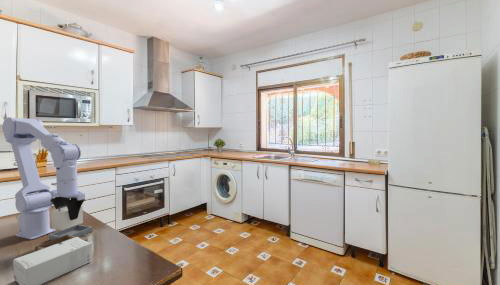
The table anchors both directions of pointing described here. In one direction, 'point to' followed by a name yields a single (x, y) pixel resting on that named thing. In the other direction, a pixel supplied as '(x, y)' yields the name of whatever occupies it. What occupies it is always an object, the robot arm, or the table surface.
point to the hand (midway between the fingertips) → (68, 218)
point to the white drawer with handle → (65, 218)
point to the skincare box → (51, 261)
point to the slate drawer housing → (72, 232)
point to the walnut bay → (56, 242)
